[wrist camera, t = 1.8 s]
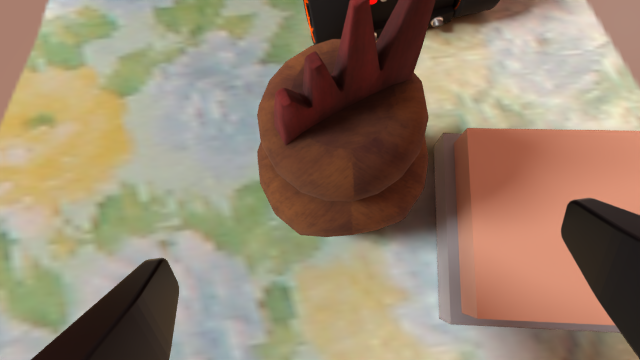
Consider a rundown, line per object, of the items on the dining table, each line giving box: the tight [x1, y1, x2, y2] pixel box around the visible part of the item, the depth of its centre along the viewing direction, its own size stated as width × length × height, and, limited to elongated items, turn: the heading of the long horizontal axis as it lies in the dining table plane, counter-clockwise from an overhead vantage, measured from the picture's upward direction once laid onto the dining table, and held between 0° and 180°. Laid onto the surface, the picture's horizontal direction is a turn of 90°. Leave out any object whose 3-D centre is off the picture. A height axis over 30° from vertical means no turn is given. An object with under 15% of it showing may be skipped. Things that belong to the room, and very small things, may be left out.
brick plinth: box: [434, 128, 640, 333], centre depth 17 cm, size 9×9×4 cm
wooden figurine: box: [257, 0, 435, 237], centre depth 13 cm, size 7×6×15 cm
